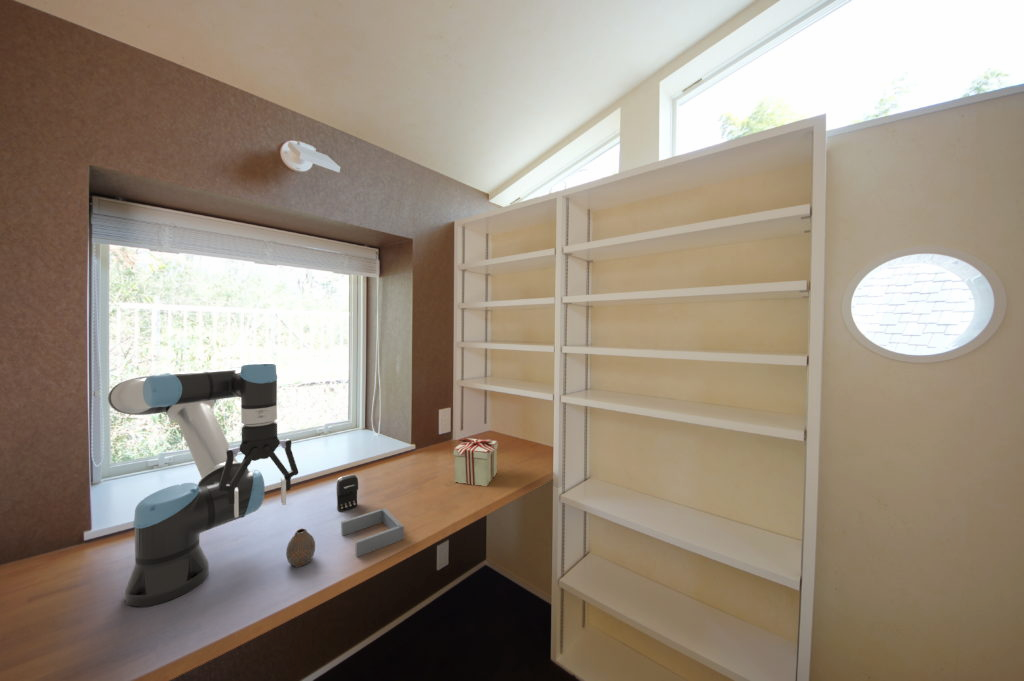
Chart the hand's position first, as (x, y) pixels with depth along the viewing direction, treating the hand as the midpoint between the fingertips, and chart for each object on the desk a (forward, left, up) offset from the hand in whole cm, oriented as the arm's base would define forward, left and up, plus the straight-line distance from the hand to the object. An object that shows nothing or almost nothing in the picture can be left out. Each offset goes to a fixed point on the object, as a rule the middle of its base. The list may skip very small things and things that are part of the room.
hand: (260, 509), depth 94 cm
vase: (+9, 0, -18) cm, 20 cm away
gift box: (+78, +15, -18) cm, 81 cm away
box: (+28, 0, -18) cm, 33 cm away
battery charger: (+28, +24, -18) cm, 41 cm away
